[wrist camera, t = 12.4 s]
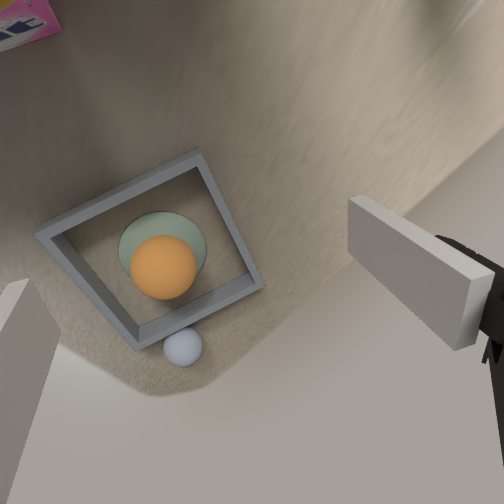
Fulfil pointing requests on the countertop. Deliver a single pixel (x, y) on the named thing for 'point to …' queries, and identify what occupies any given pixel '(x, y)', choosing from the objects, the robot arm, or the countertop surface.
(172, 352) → the grey ball
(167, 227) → the pad
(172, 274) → the ball
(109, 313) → the corral
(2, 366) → the robot arm
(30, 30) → the gum box
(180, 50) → the countertop surface
